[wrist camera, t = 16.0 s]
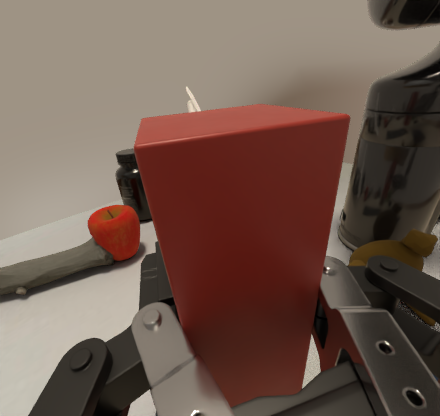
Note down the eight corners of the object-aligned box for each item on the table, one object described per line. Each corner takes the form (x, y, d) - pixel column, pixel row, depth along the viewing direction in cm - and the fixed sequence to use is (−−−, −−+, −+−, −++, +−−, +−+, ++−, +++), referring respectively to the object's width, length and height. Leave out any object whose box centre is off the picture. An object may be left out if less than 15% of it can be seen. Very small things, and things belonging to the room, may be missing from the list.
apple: (146, 236, 37) (133, 195, 34) (148, 260, 32) (133, 215, 28) (105, 246, 36) (87, 205, 32) (100, 273, 30) (78, 227, 27)
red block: (298, 409, 11) (353, 113, 5) (213, 445, 11) (131, 145, 4) (261, 329, 15) (262, 103, 9) (196, 351, 14) (140, 118, 8)
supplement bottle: (168, 213, 43) (156, 150, 37) (132, 225, 40) (112, 159, 34) (156, 201, 48) (144, 144, 43) (123, 211, 45) (105, 151, 40)
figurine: (336, 236, 26) (338, 283, 21) (426, 214, 21) (452, 269, 16) (366, 278, 28) (373, 327, 24) (452, 267, 23) (480, 327, 19)
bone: (-88, 332, 25) (-136, 296, 22) (-50, 288, 30) (-84, 254, 27) (120, 271, 31) (105, 235, 28) (121, 243, 36) (109, 211, 33)
